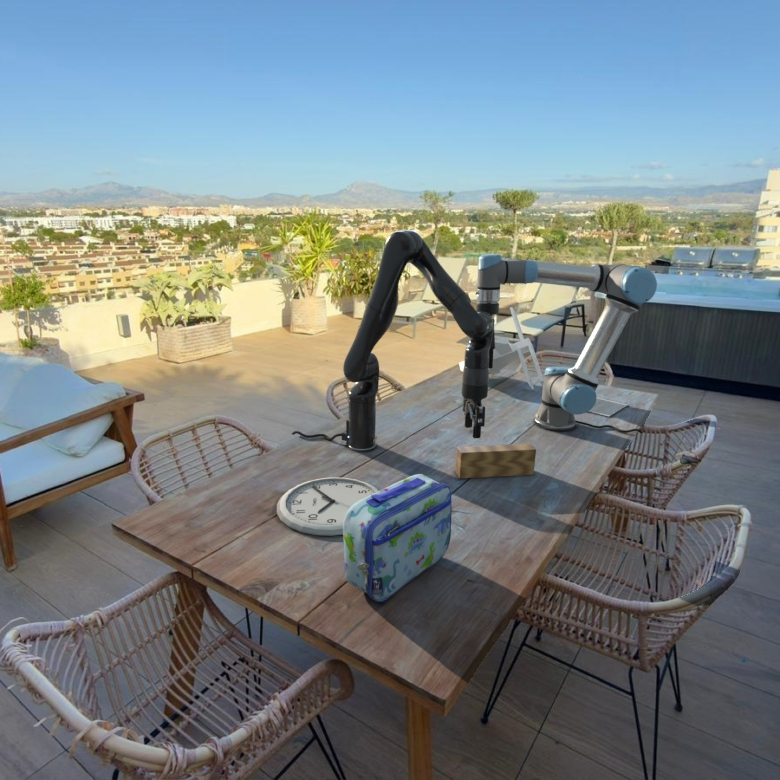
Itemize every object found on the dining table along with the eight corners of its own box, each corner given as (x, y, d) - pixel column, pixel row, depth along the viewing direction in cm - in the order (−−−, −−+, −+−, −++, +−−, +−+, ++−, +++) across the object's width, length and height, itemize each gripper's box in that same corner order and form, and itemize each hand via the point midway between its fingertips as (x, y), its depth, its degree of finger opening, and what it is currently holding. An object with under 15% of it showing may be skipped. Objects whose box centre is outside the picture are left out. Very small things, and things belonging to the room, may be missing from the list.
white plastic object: (480, 418, 266) (459, 395, 242) (461, 346, 288) (441, 318, 264) (550, 394, 254) (536, 368, 229) (526, 321, 276) (510, 289, 251)
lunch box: (371, 615, 102) (372, 521, 96) (337, 588, 110) (335, 499, 103) (455, 559, 120) (460, 477, 114) (420, 540, 127) (423, 461, 121)
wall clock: (392, 527, 129) (268, 531, 127) (391, 533, 130) (269, 537, 127) (383, 473, 158) (282, 475, 155) (383, 478, 158) (282, 480, 156)
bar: (527, 468, 167) (530, 443, 164) (533, 474, 163) (536, 449, 160) (455, 471, 164) (457, 446, 161) (459, 478, 159) (461, 452, 157)
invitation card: (608, 416, 214) (573, 407, 224) (608, 416, 214) (573, 408, 224) (628, 404, 229) (594, 396, 238) (628, 405, 229) (594, 397, 238)
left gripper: (456, 374, 159) (454, 424, 164) (469, 388, 146) (466, 442, 151) (480, 374, 160) (477, 423, 165) (495, 387, 147) (491, 441, 152)
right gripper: (471, 297, 188) (469, 354, 194) (482, 307, 164) (479, 372, 170) (492, 296, 187) (489, 354, 194) (506, 307, 164) (502, 372, 170)
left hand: (472, 432), depth 158 cm, fingers open, 8 cm apart
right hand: (484, 363), depth 182 cm, fingers open, 13 cm apart
